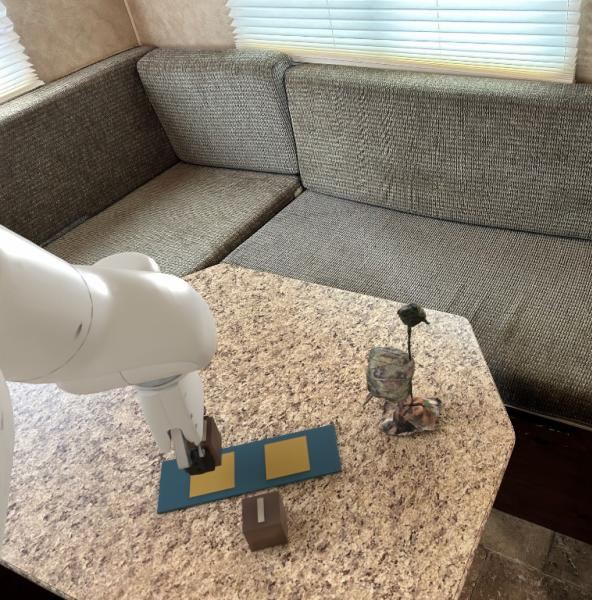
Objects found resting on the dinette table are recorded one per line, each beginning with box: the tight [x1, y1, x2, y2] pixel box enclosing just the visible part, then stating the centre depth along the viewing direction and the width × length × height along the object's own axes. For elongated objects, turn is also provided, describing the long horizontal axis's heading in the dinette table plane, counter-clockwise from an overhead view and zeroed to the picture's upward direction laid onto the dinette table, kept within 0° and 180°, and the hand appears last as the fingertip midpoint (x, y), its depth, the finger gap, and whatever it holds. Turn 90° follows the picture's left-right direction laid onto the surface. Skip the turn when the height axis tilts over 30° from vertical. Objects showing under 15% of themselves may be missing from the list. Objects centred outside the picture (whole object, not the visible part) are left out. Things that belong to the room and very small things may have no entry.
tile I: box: [241, 489, 290, 552], centre depth 73 cm, size 4×4×5 cm
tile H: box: [184, 415, 223, 473], centre depth 77 cm, size 4×4×5 cm
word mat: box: [156, 423, 343, 515], centre depth 82 cm, size 8×24×1 cm, turn 102°
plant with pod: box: [361, 301, 443, 437], centre depth 81 cm, size 8×11×20 cm
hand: (203, 453), depth 79 cm, fingers closed on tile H, 4 cm apart
